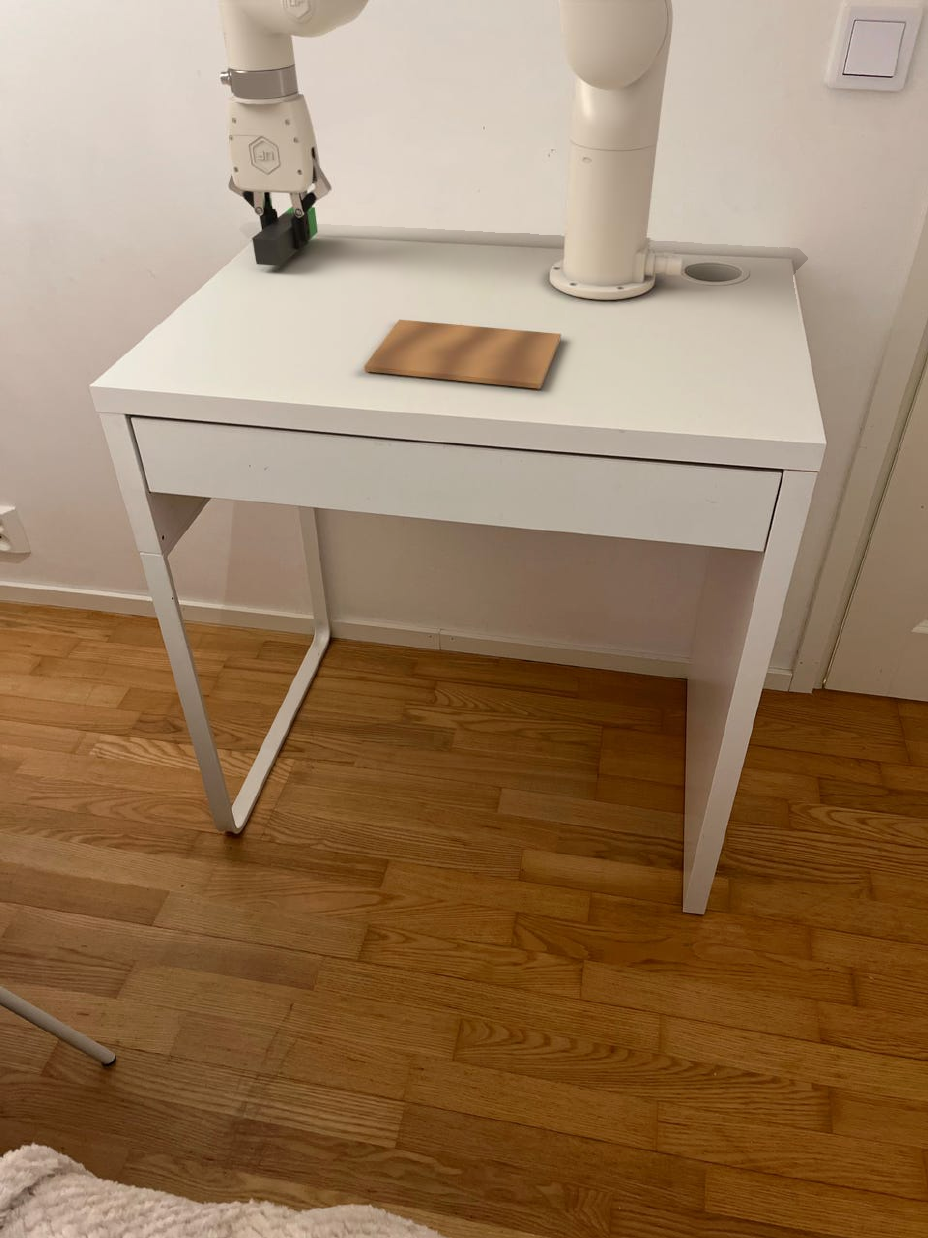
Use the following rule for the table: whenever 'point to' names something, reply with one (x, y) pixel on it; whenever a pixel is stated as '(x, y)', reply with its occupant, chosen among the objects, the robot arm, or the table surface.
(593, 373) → the table surface
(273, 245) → the marker
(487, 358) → the wooden board
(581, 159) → the robot arm
